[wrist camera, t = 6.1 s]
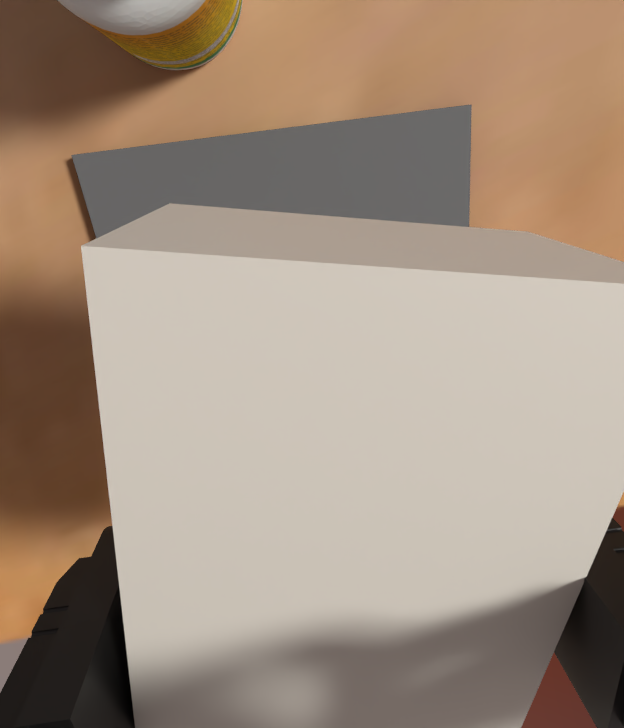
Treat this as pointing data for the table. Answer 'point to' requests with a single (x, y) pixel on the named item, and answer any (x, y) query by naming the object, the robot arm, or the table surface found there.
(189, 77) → the table surface
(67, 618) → the robot arm
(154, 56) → the supplement bottle
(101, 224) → the mat
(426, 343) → the riser block
